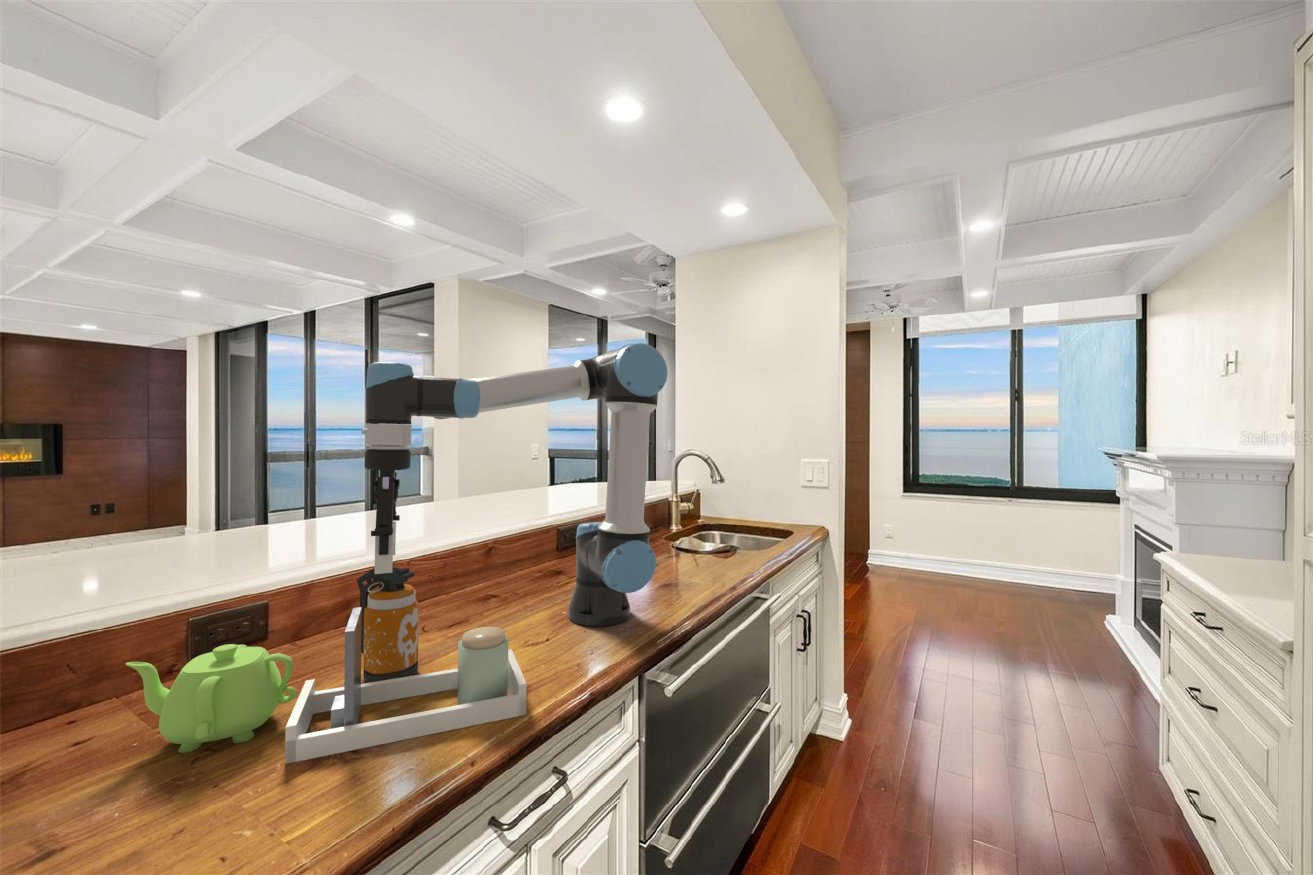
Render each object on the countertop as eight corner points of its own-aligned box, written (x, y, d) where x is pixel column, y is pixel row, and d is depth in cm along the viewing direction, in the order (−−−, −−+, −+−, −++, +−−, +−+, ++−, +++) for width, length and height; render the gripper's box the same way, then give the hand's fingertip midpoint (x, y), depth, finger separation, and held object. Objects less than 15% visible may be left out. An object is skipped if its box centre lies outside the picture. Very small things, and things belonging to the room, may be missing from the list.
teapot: (171, 781, 67) (171, 683, 67) (124, 748, 74) (124, 659, 74) (304, 720, 82) (305, 639, 81) (255, 697, 88) (255, 622, 88)
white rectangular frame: (511, 676, 97) (511, 649, 97) (526, 714, 84) (526, 683, 84) (305, 711, 84) (305, 680, 84) (285, 764, 71) (285, 727, 71)
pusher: (360, 705, 86) (361, 607, 86) (353, 741, 76) (354, 630, 76) (337, 709, 84) (338, 609, 84) (327, 746, 75) (328, 633, 74)
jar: (503, 685, 94) (504, 623, 94) (511, 707, 86) (512, 639, 86) (455, 694, 90) (456, 629, 90) (459, 717, 83) (460, 647, 83)
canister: (396, 689, 92) (397, 574, 91) (341, 682, 94) (342, 570, 94) (428, 667, 100) (429, 562, 100) (377, 661, 103) (378, 558, 102)
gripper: (370, 445, 106) (368, 550, 107) (357, 450, 84) (354, 583, 84) (411, 445, 110) (409, 548, 110) (410, 450, 87) (407, 579, 87)
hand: (385, 563), depth 97 cm, fingers open, 13 cm apart
